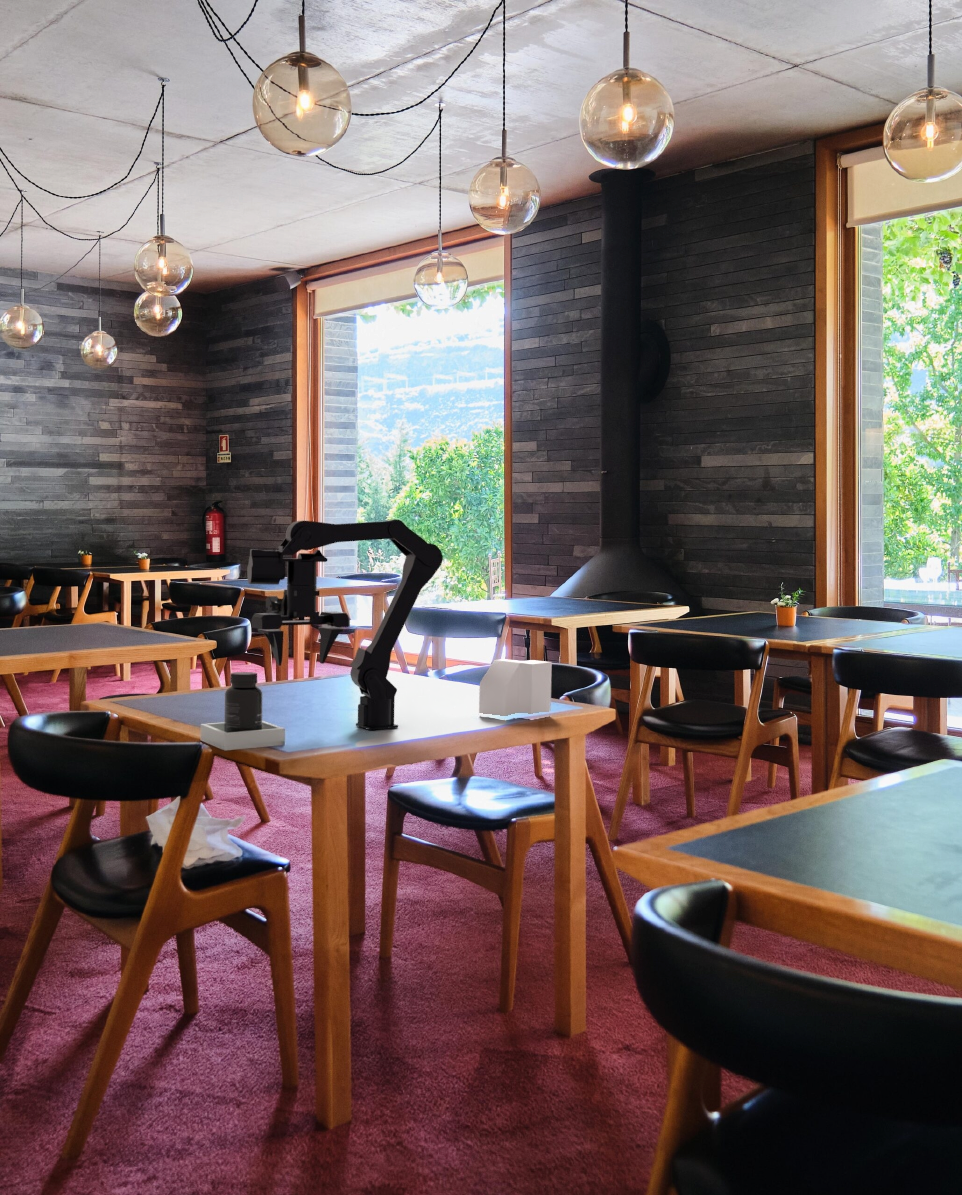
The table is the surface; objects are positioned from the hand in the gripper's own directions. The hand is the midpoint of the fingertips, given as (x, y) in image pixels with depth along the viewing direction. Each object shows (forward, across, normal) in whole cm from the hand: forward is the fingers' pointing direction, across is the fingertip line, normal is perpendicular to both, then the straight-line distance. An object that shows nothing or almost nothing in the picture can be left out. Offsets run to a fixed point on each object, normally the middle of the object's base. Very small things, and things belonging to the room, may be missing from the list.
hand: (300, 664), depth 222 cm
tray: (+13, +15, +7) cm, 21 cm away
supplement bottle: (+12, +15, +7) cm, 21 cm away
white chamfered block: (+13, -48, +6) cm, 50 cm away
